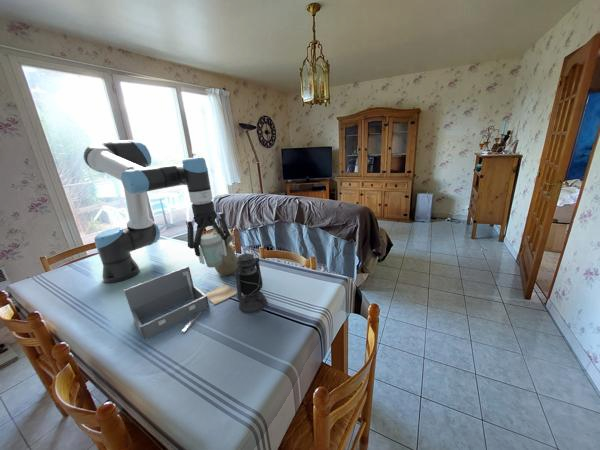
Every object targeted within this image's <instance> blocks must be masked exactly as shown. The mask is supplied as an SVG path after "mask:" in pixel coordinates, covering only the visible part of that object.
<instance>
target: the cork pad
mask: <svg viewBox="0 0 600 450" xmlns="http://www.w3.org/2000/svg"><path fill="white" fill-rule="evenodd" d="M204 294H205V295H206V296H207V299H208V301H210V303H212V304H213V305H214V306H217V305H218V304H221V303H222V302H224V301H227V300H228V299H230V298H232V297H234V296H236V295H238V294H237V290H234V289H233V288H232V287H230V286H229V285H227V284H224V285H221V286H219V287H217V288H215V289H213V290H211V291H209V292H206V293H204Z"/></svg>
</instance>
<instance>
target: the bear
mask: <svg viewBox="0 0 600 450" xmlns="http://www.w3.org/2000/svg"><path fill="white" fill-rule="evenodd" d="M218 227H219V228H220V229H221V231H222V232H223V229H222V227H221V225H218ZM212 232H216V231H215V229H214V228H213V230H212ZM223 233H224V232H223ZM229 233H230V236H228V237H227V240H226V241H227V246H226V253H227V255H226V256H225V255H223V254H222V264H221V265H220V266H217V267H214V269H215V271H216V272H217V273H218V274H219V275H220V276H224V277H225V276H230V275H234V271H235V270H236V269H237V268H238V265H237V261H239V260H238V257H239V256H240V255H239V256H238V255H237V257H236V252H235V251H234V249H233V247H232V246H231V245H229V244H230V243H231V242H232V241H234V239H235V236H236V234H235V233H232V232H229ZM235 258H236V268H235Z"/></svg>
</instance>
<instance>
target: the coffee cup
mask: <svg viewBox="0 0 600 450" xmlns="http://www.w3.org/2000/svg"><path fill="white" fill-rule="evenodd" d="M221 239H222V238H221V236H220V234H219V233H217V232H213V231H212V232H207V233H202V237H201V241H200V245H199V247H201V248H202V253H203V258H204V262H205V264H206V266H207V268H212V269H213V268H215V267H217V266H220V265H221V264H222V247H221Z"/></svg>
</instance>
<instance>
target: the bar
mask: <svg viewBox="0 0 600 450" xmlns="http://www.w3.org/2000/svg"><path fill="white" fill-rule="evenodd" d="M201 314H202V311H197V313H196V314H195V315H193V316H191V317H192V318H191V319H190V320H189V321H188V322H187V324H185V326H184V327H183V328H182V329H181V330H180V331H181V334H186V333H187V332H188V330H190V328H191V326H192V325H193V324H194V323H195V322H196V320H197V319H198V318H199V317H200V316H201Z"/></svg>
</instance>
